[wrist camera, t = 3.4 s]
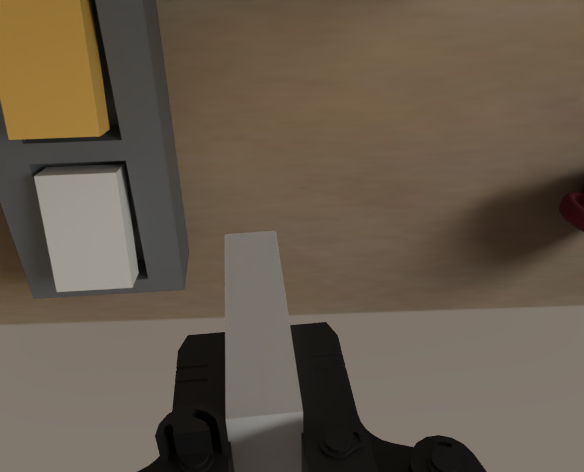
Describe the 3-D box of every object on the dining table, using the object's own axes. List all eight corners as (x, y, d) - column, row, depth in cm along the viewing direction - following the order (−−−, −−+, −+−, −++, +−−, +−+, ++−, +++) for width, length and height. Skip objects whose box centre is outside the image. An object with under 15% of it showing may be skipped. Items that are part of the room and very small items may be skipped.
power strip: (-170, -465, 23) (-259, -540, 19) (95, -455, 24) (66, -524, 20) (52, 258, 44) (33, 298, 40) (188, 251, 45) (184, 289, 41)
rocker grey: (46, 167, 36) (34, 176, 34) (123, 163, 36) (116, 172, 34) (67, 277, 39) (56, 292, 36) (138, 273, 39) (132, 287, 37)
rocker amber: (-4, -14, 30) (-24, -18, 28) (89, -16, 30) (77, -20, 28) (24, 132, 33) (8, 139, 30) (109, 129, 33) (100, 136, 31)
